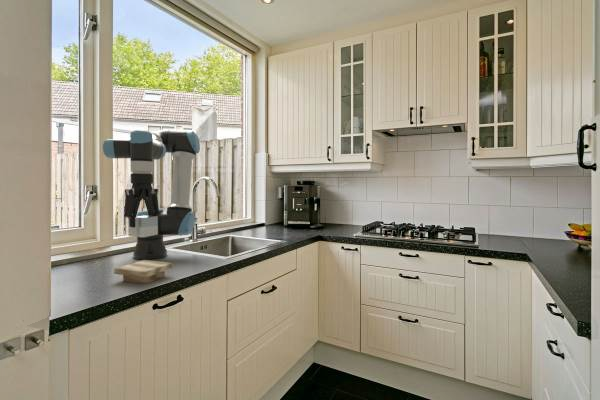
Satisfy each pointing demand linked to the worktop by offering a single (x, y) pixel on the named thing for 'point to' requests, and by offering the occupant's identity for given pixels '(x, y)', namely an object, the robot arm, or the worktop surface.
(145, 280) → the stand
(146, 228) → the housing
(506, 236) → the worktop surface
